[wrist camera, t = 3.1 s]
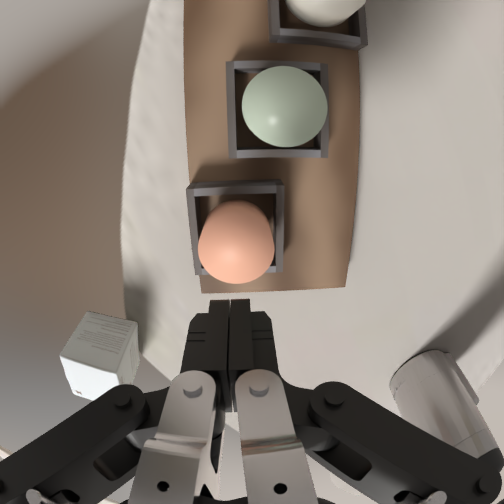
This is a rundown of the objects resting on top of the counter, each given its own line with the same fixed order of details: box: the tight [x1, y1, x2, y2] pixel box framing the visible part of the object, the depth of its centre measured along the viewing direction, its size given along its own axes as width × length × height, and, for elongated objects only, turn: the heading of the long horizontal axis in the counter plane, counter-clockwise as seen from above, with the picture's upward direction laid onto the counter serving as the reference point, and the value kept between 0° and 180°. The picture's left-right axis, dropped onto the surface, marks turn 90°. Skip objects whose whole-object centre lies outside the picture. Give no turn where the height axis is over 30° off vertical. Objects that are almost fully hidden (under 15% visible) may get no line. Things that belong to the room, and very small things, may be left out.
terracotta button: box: [198, 200, 275, 284], centre depth 18 cm, size 4×4×3 cm
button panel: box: [184, 0, 368, 293], centre depth 18 cm, size 12×28×4 cm, turn 1°
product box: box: [60, 311, 140, 401], centre depth 25 cm, size 6×6×7 cm
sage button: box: [242, 66, 327, 147], centre depth 15 cm, size 4×4×3 cm
